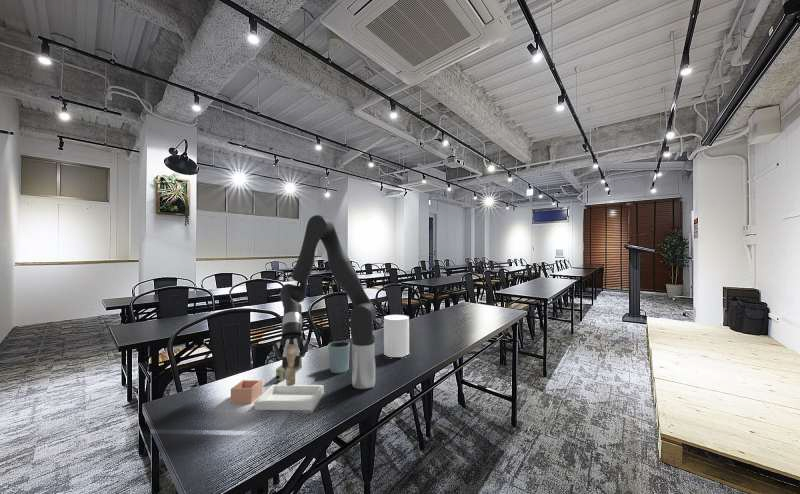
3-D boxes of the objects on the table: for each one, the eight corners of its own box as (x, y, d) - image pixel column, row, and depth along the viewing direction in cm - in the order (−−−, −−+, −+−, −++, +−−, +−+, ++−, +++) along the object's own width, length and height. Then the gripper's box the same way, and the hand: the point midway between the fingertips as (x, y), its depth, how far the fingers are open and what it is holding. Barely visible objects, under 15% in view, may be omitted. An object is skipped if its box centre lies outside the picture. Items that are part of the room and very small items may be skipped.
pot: (261, 396, 115) (262, 380, 115) (251, 406, 107) (251, 389, 108) (242, 395, 115) (242, 380, 115) (230, 405, 108) (230, 388, 108)
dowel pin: (296, 382, 111) (297, 344, 112) (293, 385, 108) (293, 346, 109) (288, 381, 112) (288, 343, 112) (284, 385, 108) (285, 346, 109)
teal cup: (343, 375, 135) (343, 348, 135) (323, 372, 138) (323, 345, 138) (353, 366, 144) (353, 341, 145) (335, 364, 148) (335, 339, 148)
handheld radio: (303, 367, 144) (275, 391, 119) (296, 367, 145) (267, 391, 120) (302, 353, 144) (274, 374, 120) (296, 353, 145) (266, 374, 120)
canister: (382, 358, 156) (382, 319, 156) (385, 350, 169) (385, 314, 170) (409, 358, 155) (408, 319, 156) (409, 350, 169) (409, 314, 169)
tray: (323, 394, 116) (323, 385, 116) (312, 413, 102) (312, 402, 102) (272, 393, 117) (272, 384, 117) (254, 412, 103) (254, 402, 103)
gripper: (272, 322, 115) (268, 365, 103) (310, 319, 120) (311, 361, 108) (273, 332, 120) (270, 375, 108) (310, 330, 125) (310, 370, 113)
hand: (290, 368), depth 108 cm, fingers closed on dowel pin, 3 cm apart
